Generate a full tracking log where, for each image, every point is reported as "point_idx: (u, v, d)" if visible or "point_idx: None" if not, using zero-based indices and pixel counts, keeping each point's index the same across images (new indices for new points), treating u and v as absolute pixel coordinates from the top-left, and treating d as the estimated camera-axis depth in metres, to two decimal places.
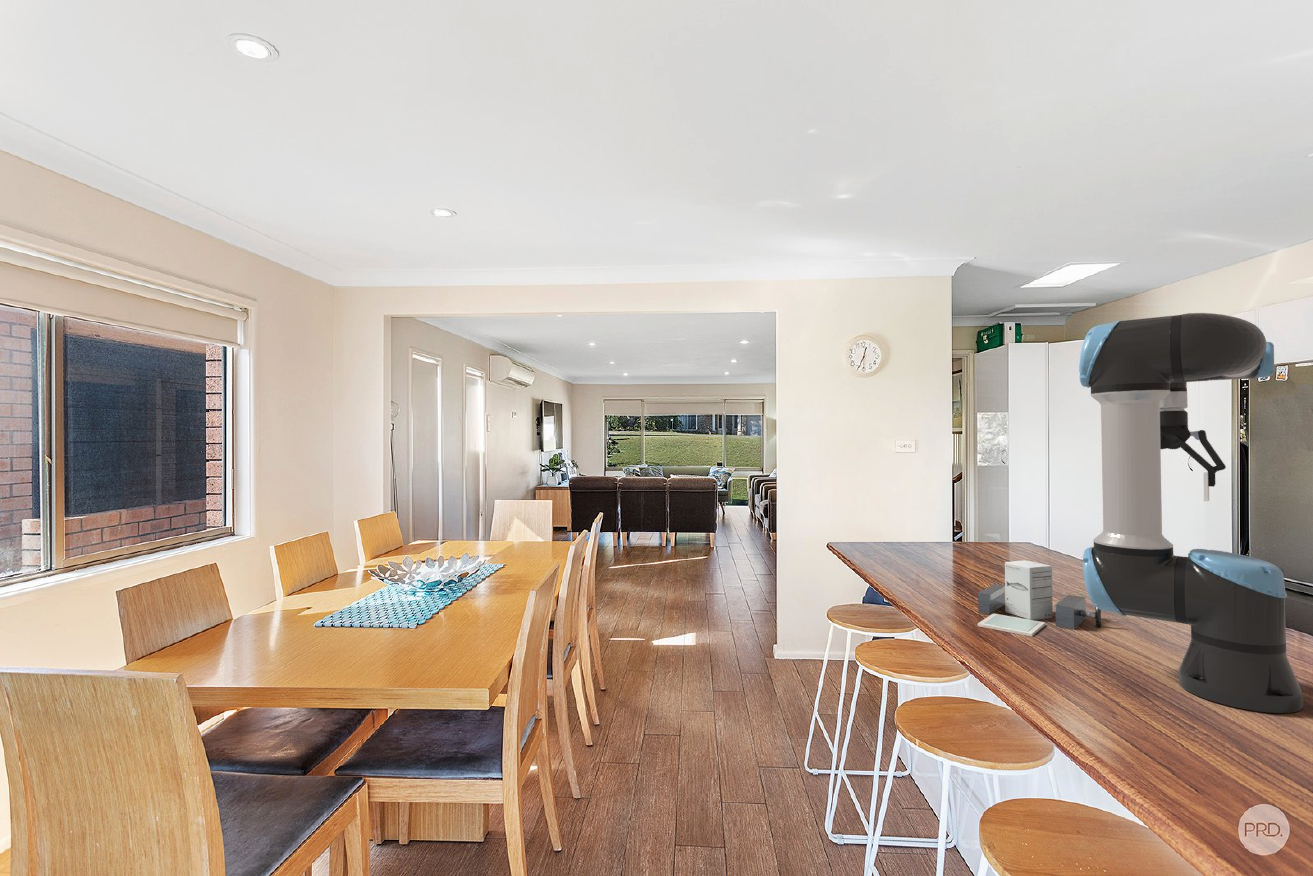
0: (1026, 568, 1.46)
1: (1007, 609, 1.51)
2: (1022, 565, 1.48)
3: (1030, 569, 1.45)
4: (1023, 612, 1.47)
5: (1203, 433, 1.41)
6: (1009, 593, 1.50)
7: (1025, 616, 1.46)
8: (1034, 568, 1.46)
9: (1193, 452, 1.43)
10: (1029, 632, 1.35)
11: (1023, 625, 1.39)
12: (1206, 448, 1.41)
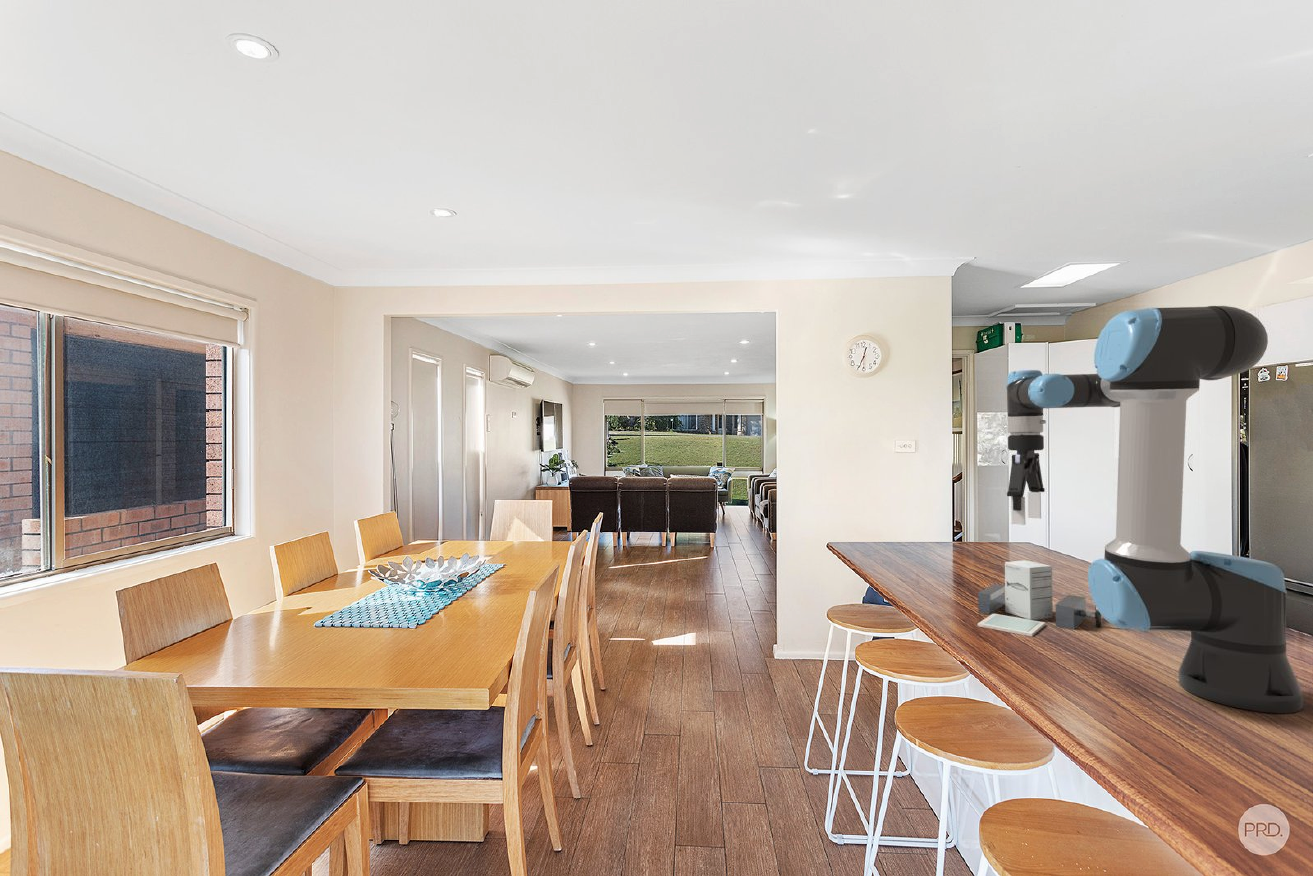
0: (1026, 568, 1.46)
1: (1007, 609, 1.51)
2: (1022, 565, 1.48)
3: (1030, 569, 1.45)
4: (1023, 612, 1.47)
5: None
6: (1009, 593, 1.50)
7: (1025, 616, 1.46)
8: (1034, 568, 1.46)
9: None
10: (1029, 632, 1.35)
11: (1023, 625, 1.39)
12: None
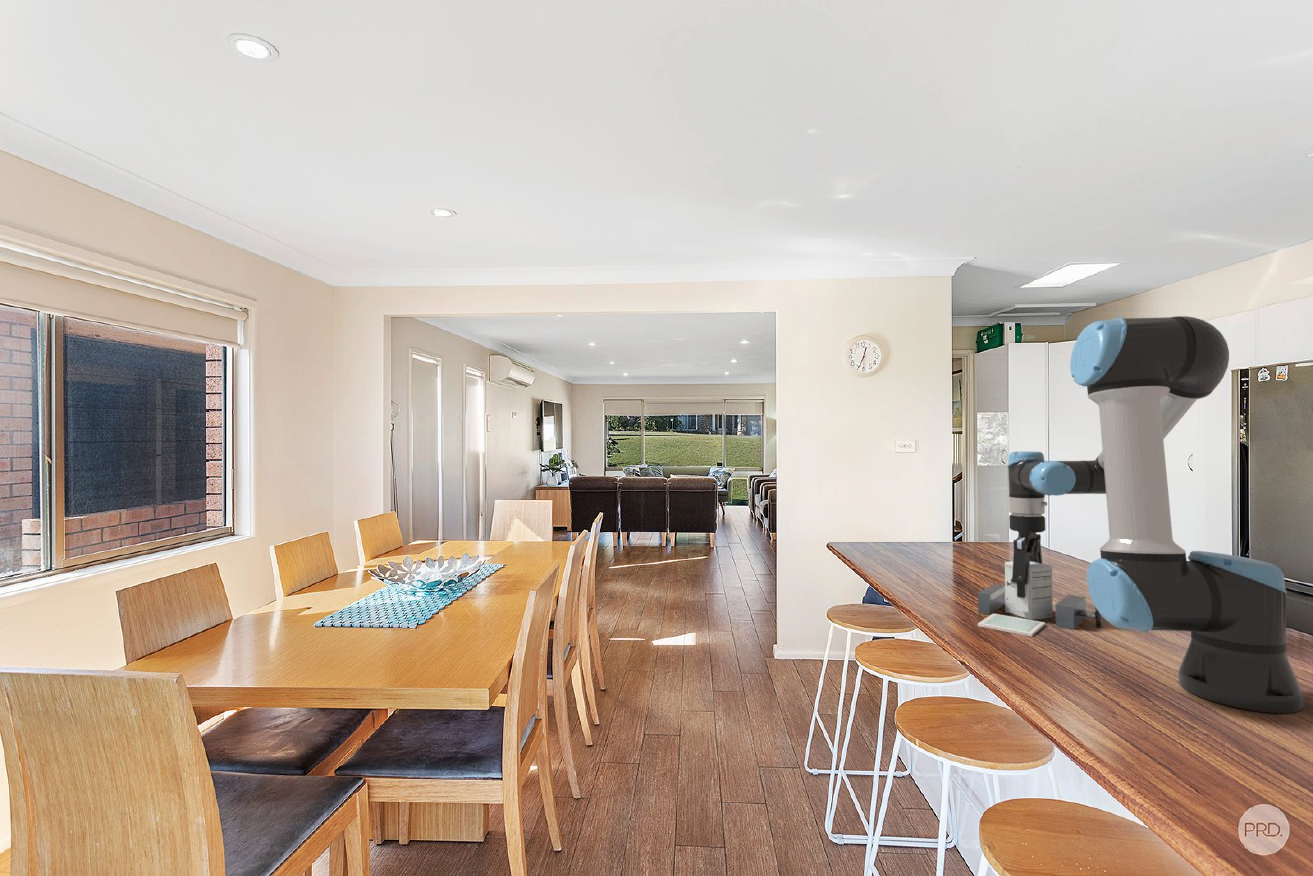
0: None
1: (1007, 609, 1.51)
2: None
3: (1030, 569, 1.45)
4: (1024, 612, 1.47)
5: None
6: (1009, 592, 1.50)
7: (1025, 616, 1.46)
8: (1034, 568, 1.46)
9: None
10: (1029, 632, 1.35)
11: (1023, 625, 1.39)
12: None
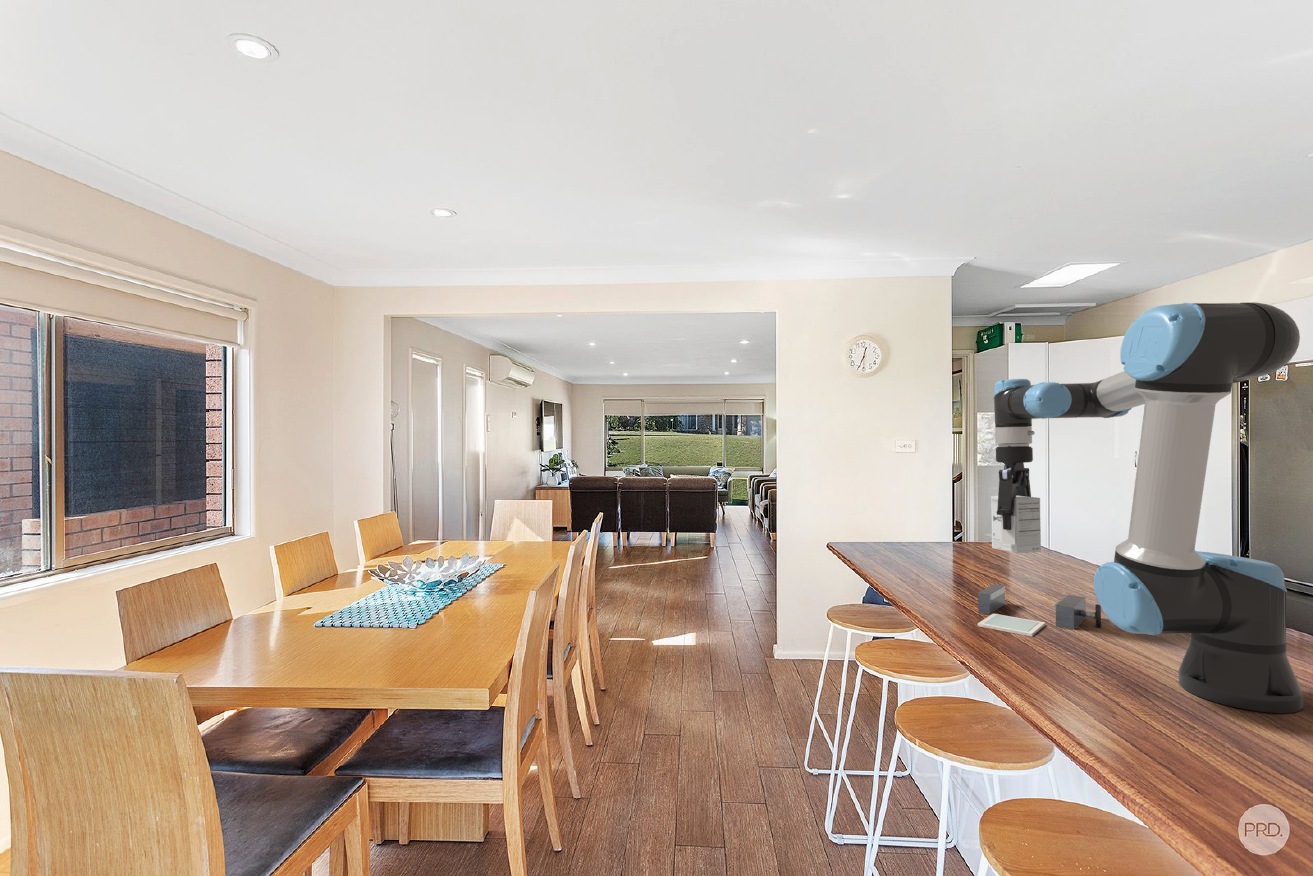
0: None
1: (994, 545, 1.45)
2: None
3: (1016, 500, 1.39)
4: (1010, 546, 1.41)
5: None
6: (996, 527, 1.45)
7: (1012, 550, 1.41)
8: (1021, 499, 1.40)
9: None
10: (1029, 632, 1.35)
11: (1023, 625, 1.39)
12: None
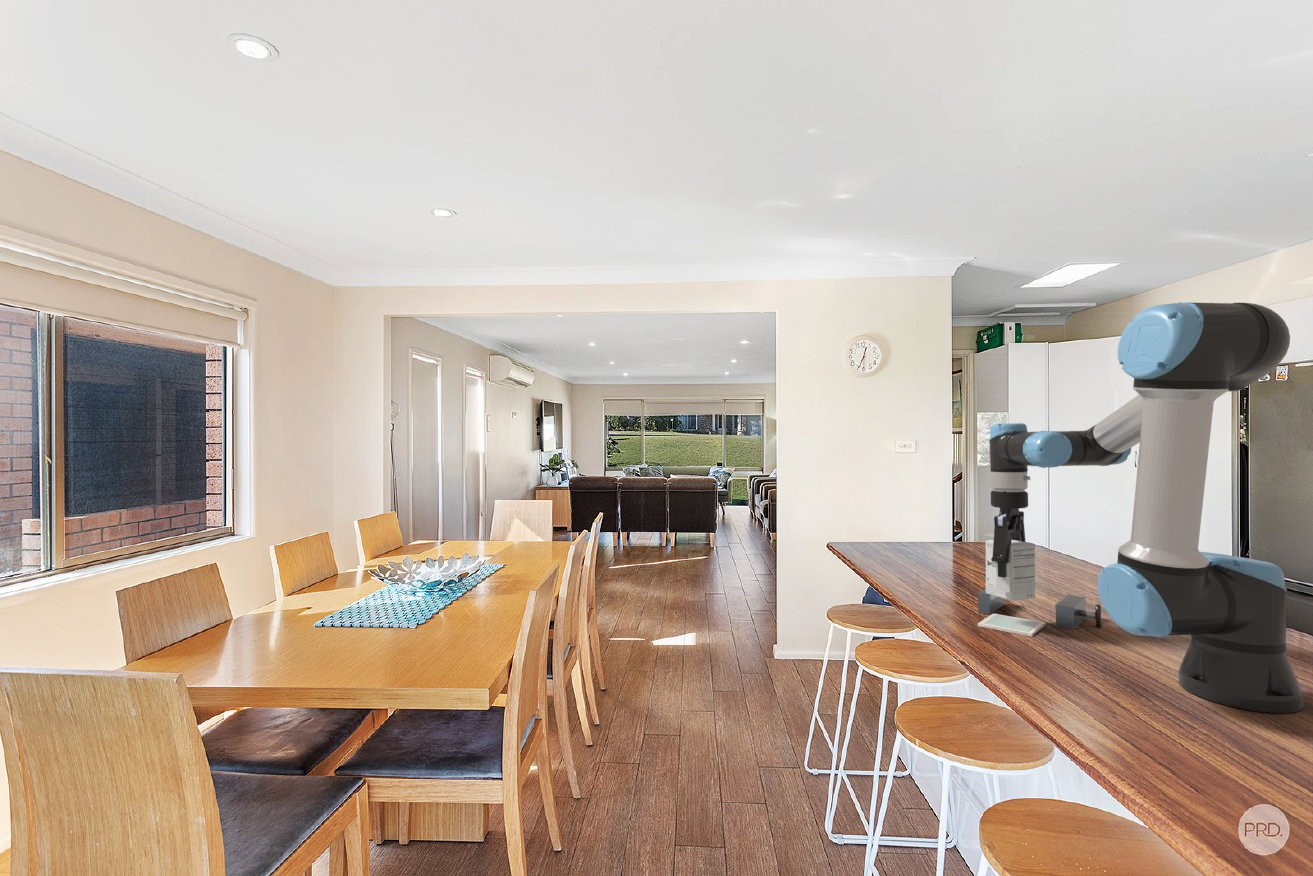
0: None
1: (988, 590, 1.43)
2: None
3: (1011, 547, 1.37)
4: (1004, 593, 1.39)
5: None
6: (990, 572, 1.42)
7: (1006, 597, 1.39)
8: (1016, 546, 1.38)
9: None
10: (1029, 632, 1.35)
11: (1023, 625, 1.39)
12: None
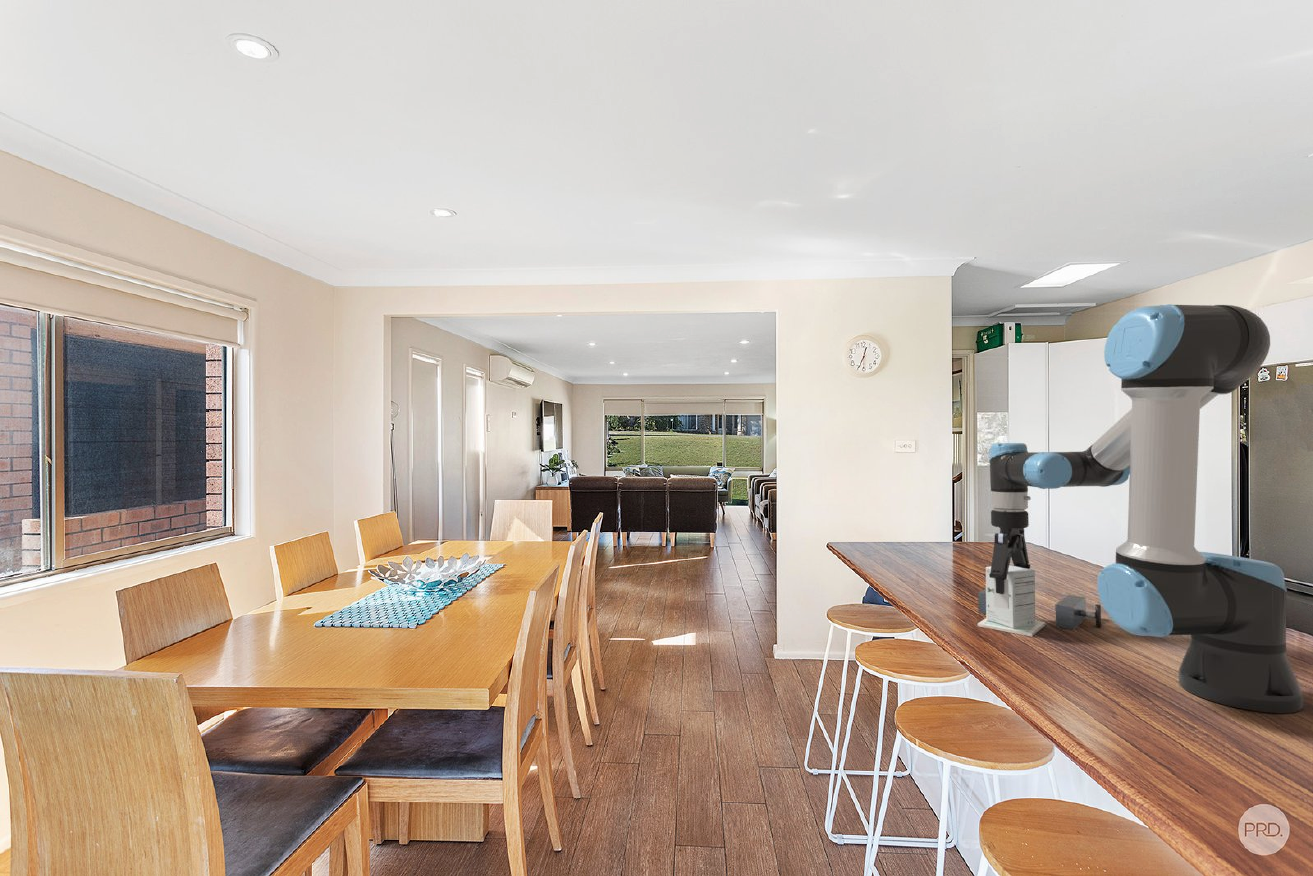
0: (1009, 573, 1.38)
1: (988, 616, 1.43)
2: None
3: (1013, 574, 1.37)
4: (1006, 620, 1.39)
5: None
6: (991, 599, 1.42)
7: (1007, 624, 1.38)
8: (1017, 573, 1.37)
9: None
10: (1029, 632, 1.35)
11: None
12: None
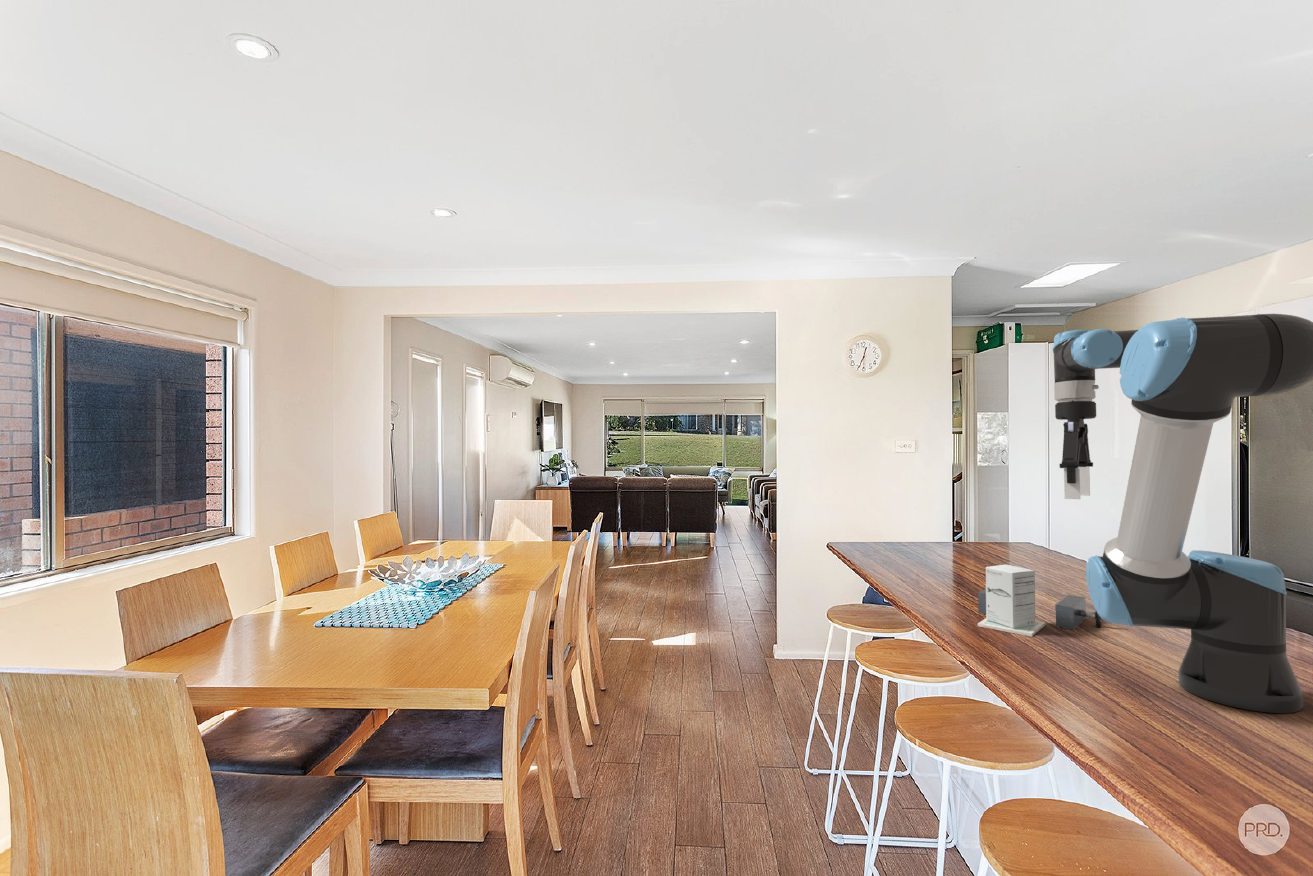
0: (1009, 573, 1.38)
1: (988, 616, 1.43)
2: (1004, 570, 1.39)
3: (1013, 574, 1.37)
4: (1006, 620, 1.39)
5: (1064, 426, 1.32)
6: (991, 599, 1.42)
7: (1007, 624, 1.38)
8: (1017, 573, 1.37)
9: None
10: (1029, 632, 1.35)
11: None
12: None
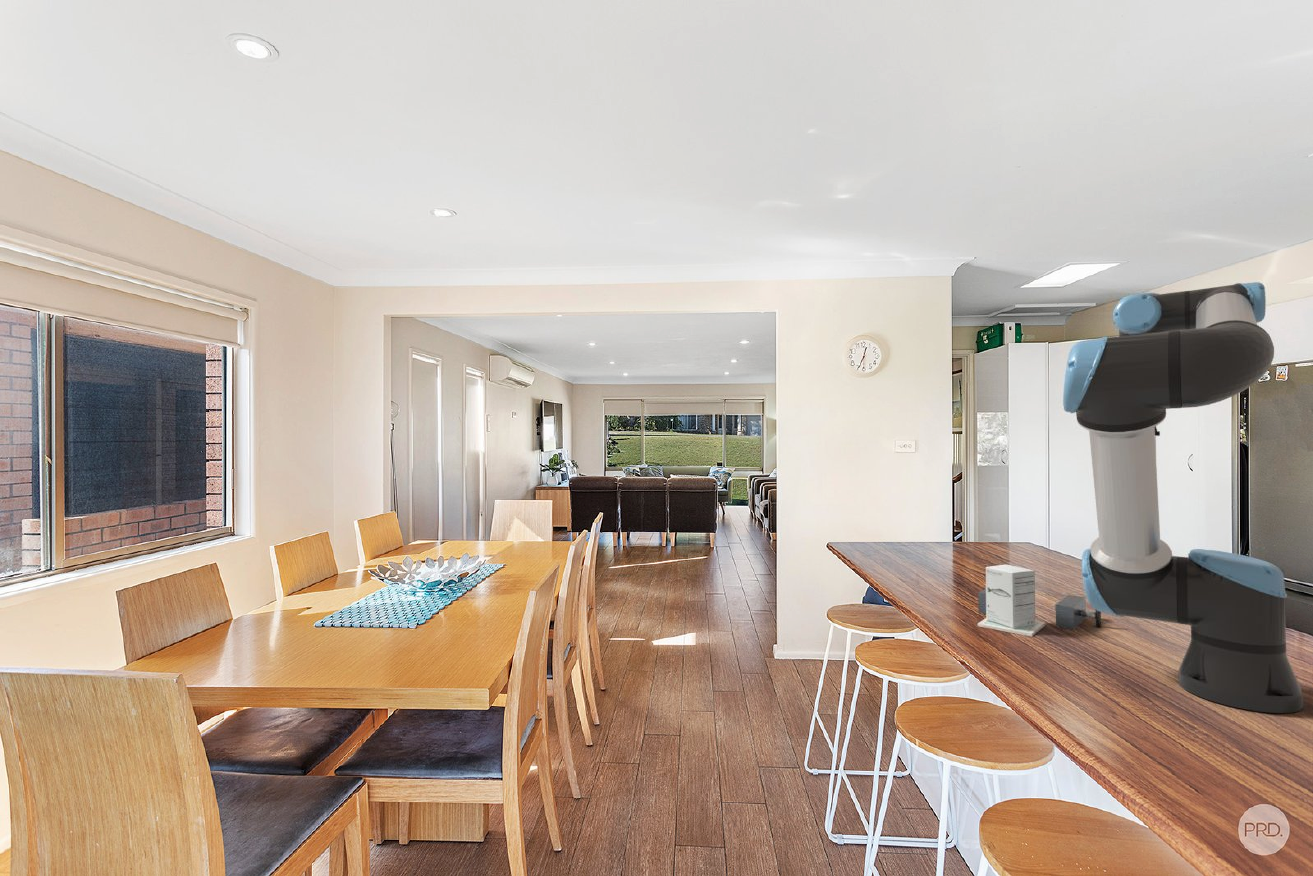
0: (1009, 573, 1.38)
1: (988, 616, 1.43)
2: (1004, 570, 1.39)
3: (1013, 574, 1.37)
4: (1006, 620, 1.39)
5: None
6: (991, 599, 1.42)
7: (1007, 624, 1.38)
8: (1017, 573, 1.37)
9: None
10: (1029, 632, 1.35)
11: None
12: None
